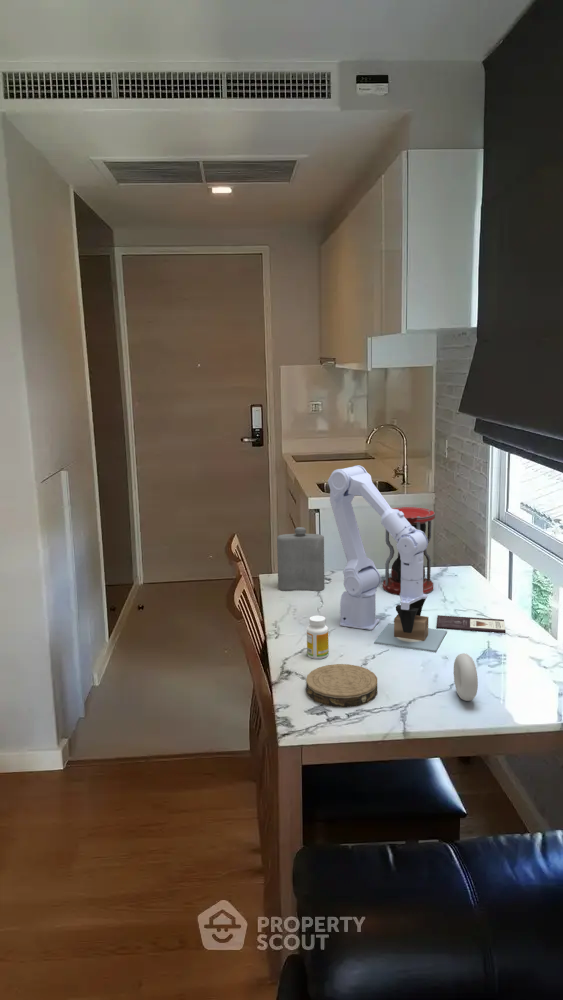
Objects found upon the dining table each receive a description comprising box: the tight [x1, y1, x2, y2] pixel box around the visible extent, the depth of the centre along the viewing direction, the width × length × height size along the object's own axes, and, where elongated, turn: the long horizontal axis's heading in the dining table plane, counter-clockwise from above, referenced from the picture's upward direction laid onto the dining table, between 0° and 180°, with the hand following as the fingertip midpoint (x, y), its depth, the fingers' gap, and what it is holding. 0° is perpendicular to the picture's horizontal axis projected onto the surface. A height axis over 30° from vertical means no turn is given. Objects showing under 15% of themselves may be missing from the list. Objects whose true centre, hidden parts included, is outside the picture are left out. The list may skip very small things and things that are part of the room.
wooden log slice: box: [305, 663, 378, 708], centre depth 159 cm, size 16×16×3 cm
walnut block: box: [393, 614, 429, 641], centre depth 187 cm, size 4×8×5 cm, turn 65°
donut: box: [453, 653, 479, 702], centre depth 153 cm, size 10×4×10 cm, turn 1°
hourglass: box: [382, 506, 436, 596], centre depth 225 cm, size 16×16×25 cm
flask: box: [276, 526, 326, 592], centre depth 228 cm, size 15×6×20 cm, turn 86°
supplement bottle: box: [306, 615, 330, 660], centre depth 177 cm, size 5×5×10 cm
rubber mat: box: [373, 622, 448, 653], centre depth 187 cm, size 16×14×1 cm
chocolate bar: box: [435, 614, 506, 634], centre depth 195 cm, size 9×1×18 cm
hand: (411, 627), depth 187 cm, fingers open, 7 cm apart
